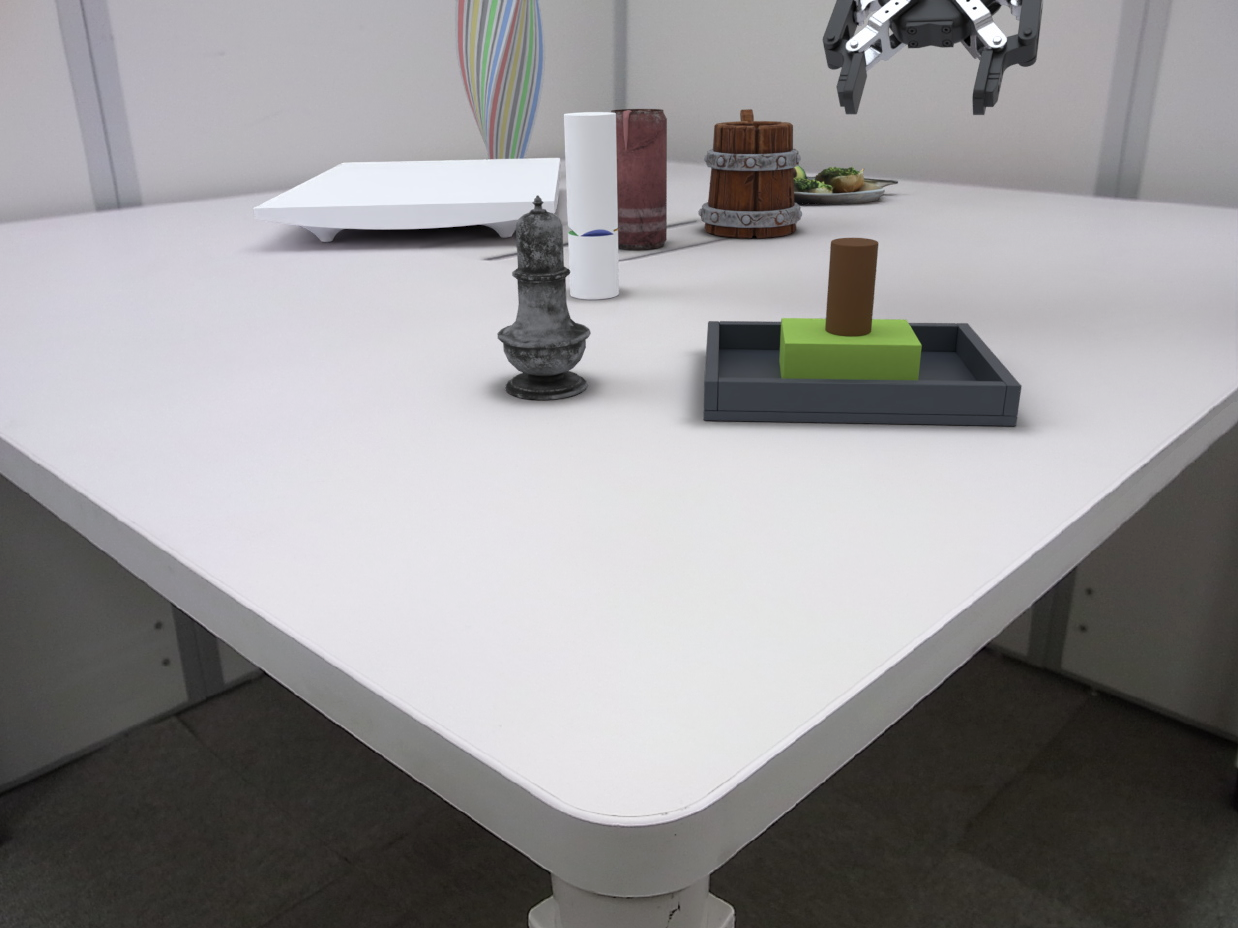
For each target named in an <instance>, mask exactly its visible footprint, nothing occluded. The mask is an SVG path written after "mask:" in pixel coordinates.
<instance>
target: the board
mask: <svg viewBox="0 0 1238 928" xmlns="http://www.w3.org/2000/svg"><path fill="white" fill-rule="evenodd" d="M561 166H562V164H561V157H536V158H533V157H532V158H530V157H529V158H525V159H488V158H487V159H484V158H483V159H448V160H446V159H445V160H443V159H441V160H407V161H406V160H402V161H401V160H398V161H356V162H355V161H354V162H353V161H351V162H341V163H339V164H337V165H335V166H334V167H331V168H329V169H328V170H325V171H323V172H321V173H320V174H318V175H316V176H313V177H312V178H309V179H308V180H306V181H303V182H302V183H300V184H298V185H296V186H294V187H292V188H290V189H288V190H286V191H284V192H282V193H280V194H279V195H277V196H274V197H272V198H270V199H268V200H266V201H264V202H262V203H261V204H259V205H256V206H255V207H252V212H253V218H254V221H256V222H258V221H259V222H266V223H273V224H282V225H291V226H298V227H301V228H303V229H306V230H308V231H309V232H310V233H312V234H314V235H315V236H316V237H317V238H318V239H319V241H320V242H321V243H329V242H333V241H334V238H335V237H336V236H337V235H338V233H340V232H342V231H343V230H346V229H347V230H419V229H421V230H422V229H439V228H453V227H466V226H477V225H481V226H485V227H488V228H490V229H492V230H494V231H495V232H496V233H497V234H498V235H499V237H500V238H511V237H512V236H513V234H514V233H515V232H516V223H517V221H518V220H519V218H520V217H522V216H523V215H524V214H526V213H529V212H530V211H531V210H532V209H534V206H535V205H534V204H533V203H532V202H534V199H535V198H536V196H537V195H539V198H541V199H542V201H543V202H544V203H543V204H542V209H546V211H547V212H550V213H553V214H555V213H556V211H557V208H558V203H559V197H560V187H561V185H560V184H561V169H562V168H561Z"/></svg>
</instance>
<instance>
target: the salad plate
mask: <svg viewBox="0 0 1238 928" xmlns="http://www.w3.org/2000/svg"><path fill="white" fill-rule="evenodd" d="M864 171H865V168H862V169H861V170H856V169H855V167H854V166H851V167H848V168H845V167H837V166H834V167H833V166H830V167H828V168H824V169H822V170H821V171H820V172H818V173H817V174H816V175H815V176H807V173H806V170H805V169H804V168H803V167H802V166H801V165H800V164H799V165H798V166H796V167H794V168H793V175H794V202H795V203H797V204H798V205H799V206H801V205H802V206H804V205H805V206H808V205H809V206H811V205H846V204H864V203H871V202H875V201H878V200H879V199H880V197H881V196H883V194H885V192H886V190H885V187H888V186H893V185H898V184H899V180H893V179H881V178H868V177H867V178H866V177H865V175H864Z"/></svg>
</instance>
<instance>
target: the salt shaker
mask: <svg viewBox="0 0 1238 928" xmlns="http://www.w3.org/2000/svg"><path fill="white" fill-rule="evenodd" d="M532 203H533V204H534V205H535V206H534V209H532V210H531V211H530V212H529V213H526V214H524V215H523V216H522V217H520V218H519V220H518V221H517V223H516V230H515V239H516V259H517V268H516V269H514V270H513V271H512V272H511V276H512V277H513V278H515V280H516V281H517V296H518V297H517V298H518V305H517V313H516V317H515V321H513V323H512V324H510V325H507V326H505V327H503V328H501V329H500V330H498V332H497V339H498V340H499V341H500V342H501V343H502V348H503V353H504V355H505V357H506V359H507V361H508V362H509V364H511V366H512V367H514V368H515V370H517V371H518V372H520V373H519V374H516V375H515V376H513V378H510V379H509V380H508V381H507V382H506V384H505V386H504V387H505V391H506V393H508V394H509V395H511V396H513V397H515V398H516V397H517V398H519V399H525V400H535V401H545V400H559V399H565V398H569V397H573V396H577V395H578V394H582V393H583V392H584V391H585V390H587V388H588V381H587V380H586V379H585V378H584V377H583V376H580V375H579V374H578V373H576V372H573V371H571V370H572V369H574V368H575V367H576V366H577V365H578V364H579V363H580V362H581V360H582V359H583V356H584V353H585V350H586V348H587V339H589V338H590V336H591V333H592V332H591V330H590V328H589V327H588V326H586V325H585V324H582V323H579V322H575V321H574V320H573V319H572V318H571V315H570V312H569V308H568V304H567V279H566V278H567V277H569V276H570V270H569V267H566V266H565V262H564V261H565V258H564V256H565V255H564V233H563V223H562V220H561V219H560V218H559V216H558V215H556V214H555V213H550V212H547V211H546V209H542V204H543V203H544V202H543V201H542V199H541V198H539V195H537V196H536V198H535V199H534V202H532Z"/></svg>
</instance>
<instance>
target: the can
mask: <svg viewBox="0 0 1238 928" xmlns="http://www.w3.org/2000/svg"><path fill="white" fill-rule="evenodd" d="M610 112H611V113H616V152H617V209H618V228H617V229H618V249H621V250H629V251H631V250H633V251H639V250H640V251H642V250H654V249H659V248H663V246H664V245H665V244H666V241H667V238H668V237H667V233H668V232H667V230H668V229H667V227H668V226H667V225H668V224H667V223H668V218H667V217H668V213H667V212H668V209H667V207H668V202H667V201H668V200H667V199H668V197H667V196H668V195H667V194H668V192H667V191H668V190H667V189H668V183H667V182H668V179H667V178H668V118H667V116H666V114H665V112H664V109H661V108H622V109H621V108H620V109H613V110H611V111H610Z"/></svg>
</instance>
